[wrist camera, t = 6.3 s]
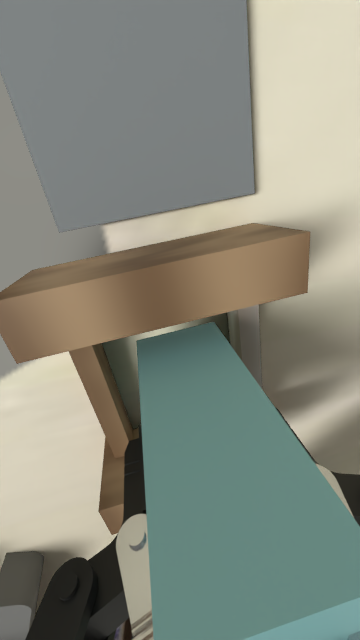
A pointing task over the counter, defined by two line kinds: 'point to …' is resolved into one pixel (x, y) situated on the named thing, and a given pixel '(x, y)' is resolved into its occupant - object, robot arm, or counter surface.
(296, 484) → the teal box
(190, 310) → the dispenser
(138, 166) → the mat
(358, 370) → the counter surface
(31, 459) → the counter surface
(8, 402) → the counter surface
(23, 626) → the cable clip
